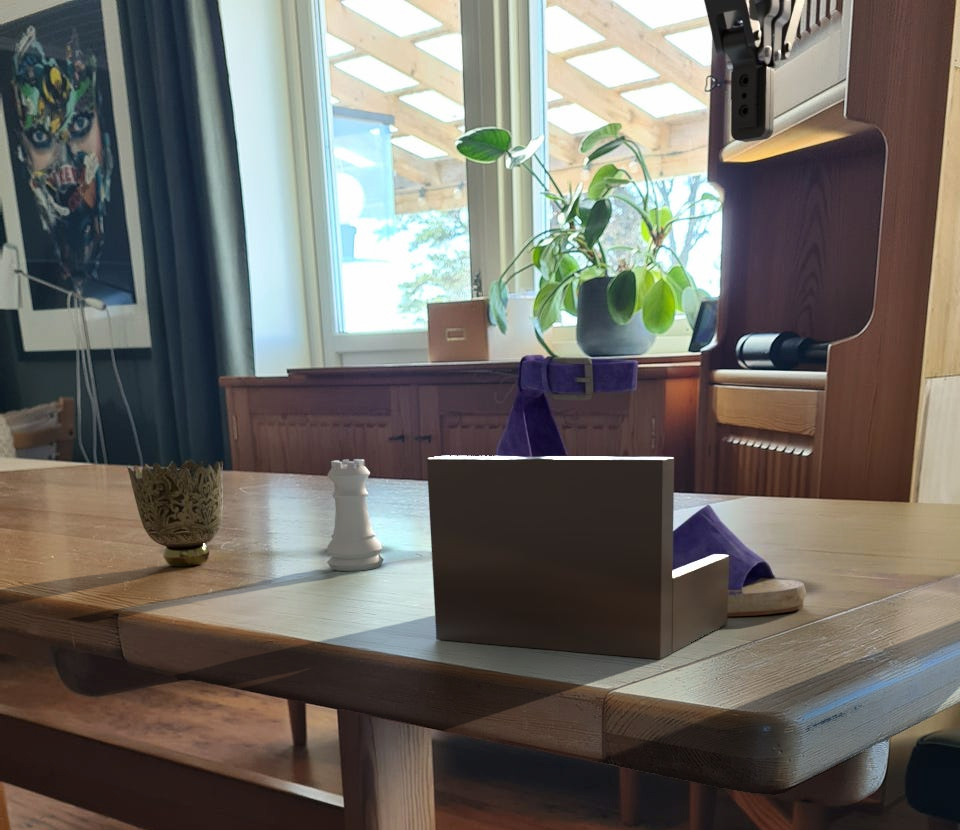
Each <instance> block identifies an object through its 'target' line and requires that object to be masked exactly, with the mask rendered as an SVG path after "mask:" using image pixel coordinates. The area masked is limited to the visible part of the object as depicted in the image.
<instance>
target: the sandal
mask: <svg viewBox="0 0 960 830" xmlns="http://www.w3.org/2000/svg"><path fill="white" fill-rule="evenodd" d="M638 372H639V361H638V360H632V359H631V360H629V359H614V358H613V359H612V358H611V359H609V358H590V357H588V356H587V357H586V356H584V357H583V356H582V357H580V356H577V357H575V356H574V357H570V356H569V357H567V356H566V357H565V356H555V355H548V356H546V357H545V356H544V355H543V354H526V355H524V356H522V357H521V359H520V361H519V366H518V374H517V380H516V393H515V397H514V401H513V404H512V406H511V410H510V413H509V415H508V417H507V418H508V419H507V421H506V424H505V427H504V430H503V433H502V435H501V437H500V440H499V443H498V445H497V449H496V452H495V456H516V457H570V456H569V453H568V450H567V448H566V445H565V442H564V439H563V437H562V434H561V432H560V429H559V427H558V424H557V422H556V420H555V419H556V418H555V417H554V414H553V412H552V409H551V408H552V407H551V405H550V403H549V399H548V397H547V394H550V395H551V396H552V398H553V399H554V400H559V401H560V400H563V401H590V400H591V399H593V398H594V393H596V394H597V393H618V392H619V393H620V392H634V391H637V388H638V387H637V385H638ZM546 393H547V394H546ZM713 554H719V555H729V578H728V612H727V617H750V616H751V617H753V616H762V615H763V616H764V615H765V616H766V615H774V614H783V613H788V612H794V611H797V610H800V609H802V608H803V607H804V603H805V599H806V596H807V591H806V586H805V584H804V582H801V581H798V580H794V579H789V578H780V577H776V576H775V575H774V573H773V570H772V568H771V566H770V565H769V563H768V562H767V561H766V560H765V559H764V558H762V557H761V556H760V555H758V554H757V553H756V552H754V551H753V550H752V549H751V548H749V547H747V546H746V544H745V543H743V542H742V540H740V539H739V538H738V536H736V535H735V533H734V532H733V531H731V529H729V528H728V527H727V525H726V524H725V523H724V522H723V521H722V520H721V519H720V518H719V516H718V514H717V513H716V512H715V511H714V508H713V507H712V506H711V505H710V504H707V505H705V506H703V507H702V508H700V509H699V510H698V511H696V512H695V513H693V514H692V515H691V516H690V517H689V518H687V519H686V520H685V521H684V522H682V523H681V524H680V525H679V526H678V527H677V528H675V529H673V570H675V569H678V568H680V567H683V566H685V565H688V564H690V563H693V562H695V561H698V560H701V559H703V558H706V557H708V556H711V555H713Z"/></svg>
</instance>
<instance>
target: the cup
mask: <svg viewBox="0 0 960 830" xmlns="http://www.w3.org/2000/svg"><path fill="white" fill-rule="evenodd" d="M126 467H127V472H128V474H129V480H130V483H131V489H132V491H133V496H134V500H135V504H136V507H137V512H138V515H139V519H140V521H141V524H142V526H143V528H144V529H143V530H145V533H146V534H147V536H148V537H149V538H150V539H151V540H152V541H154V542H155V543H156V544H158V545H161V546H164V550H163V553H162V557H163V559H164V560H165V562H166V563H167V565H168V566H172V567H193V566H199V565H203V564H204V563H206V562H207V561H208V559H209V555H210V550H209V549H208V547H207V545H206V544H207V543H209V542H210V541H212V540H213V539H214V538H215V537H216V535H217V534H218V533H219V531H220V529H221V525H222V519H223V505H224V503H223V502H224V501H223V498H224V497H223V495H224V494H223V493H224V492H223V491H224V489H223V487H224V485H223V484H224V483H223V478H224V477H223V467H224V463H223V461H222V460H221V461H220V462H219V461H218V460H217V461H216V462H215V463H214V465H213V467H212V465H211V464H208V465H207V467H206V464H205V462H204V461H203V460H201V461H200V462H199V463H198V465H197V464H196V462H195V461H194V460H192V458H191V459H188V460H185V462H184V463H182V464H181V465H180V466H179V467H177V465H176V463H175V462H174V461H172V460H171V461H170V463H169V465H168V466H167V467H162V466H161V465H160V464H159V463H158V462H154V463H153V464H152V468H151V467H150V466H149V465H148V464H147V463H144V464H143V465H142V469H141V470H140V468H139V466H138V465H134V466H133V469H132V468H131V467H130V466H129V465H127V466H126Z"/></svg>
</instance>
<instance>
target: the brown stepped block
mask: <svg viewBox="0 0 960 830" xmlns="http://www.w3.org/2000/svg"><path fill="white" fill-rule="evenodd" d="M426 471H427V490H428V491H427V493H428V508H429V525H430V526H429V527H430V528H429V529H430V530H429V531H430V546H431V564H432V565H431V566H432V581H433V583H432V584H433V602H434V622H435V639H436V640H439V641H449V642H450V641H451V642H453V641H454V642H462V643H474V644H485V645H495V646H505V647H517V648H527V649H528V648H529V649H539V650H549V651H550V650H552V651H562V652H573V653H574V652H575V653H583V654H585V653H586V654H595V655H605V656H606V655H608V656H616V657H617V656H618V657H630V658H639V659H640V658H642V659H650V660H651V659H652V660H661V659H664V658H666V657H668V656H669V655H671V654H673V653H675V652H677V651H678V650H680V649H682V648H684V647H686V646H688V645H690V644H692V643H694V642H696V641H698V640H700V639H701V638H700V637H702V638H703V636H704V635H706V634H708V633H709V634H711V633H713V632H715V631H718V630H719V629H721V628H723V627H725V626H727V625H728V616H727V612H728V578H729V555H719V554H713V555H711V556H708V557H706V558H703V559H701V560H698V561H695V562H693V563H690V564H688V565H685V566H683V567H680V568H678V569H675V570H673V531H674V508H675V507H674V504H675V503H674V501H675V499H674V496H675V457H674V456H569V457H516V456H496V455H494V456H493V455H492V456H489V455H487V456H485V455H482V456H481V455H479V456H475V455H474V456H473V455H472V456H471V455H468V456H467V455H458V456H457V455H451V456H450V455H441V456H434V457H427V458H426ZM726 624H727V625H726ZM724 625H725V626H724ZM722 626H723V627H722ZM720 627H721V628H720ZM714 630H715V631H714ZM712 631H713V632H712ZM710 632H711V633H710ZM709 634H708V635H709ZM706 636H707V635H706ZM704 637H705V636H704ZM699 638H700V639H699ZM697 639H698V640H697ZM695 640H696V641H695ZM693 641H694V642H693ZM691 642H692V643H691Z"/></svg>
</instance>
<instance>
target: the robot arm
mask: <svg viewBox="0 0 960 830" xmlns="http://www.w3.org/2000/svg"><path fill="white" fill-rule="evenodd" d="M703 1H704V7H705V10H706V15H707V20H708V22H709V27H710V32H711V37H712V40H713V45H714V49H715V52H716V54H717V55H721V54H725V65H726V69H727V70H728V71H731V78H730V79H731V84H730V85H731V88H730V90H731V92H730V93H731V95H730V105H731V106H730V135H731V137H732V139H733V140H735V141H738V142H744V143H750V142H756V141H763V140H768V139H770V138H771V136H772V135H773V134H774V123H775V120H774V119H775V116H774V115H775V69H776V68H779V67H780V65H781V61H785V60H786V61H787V60H789V59H790V58H791V57H790V56H791V53H792V49H793V45H794V43H795V38H796V35H797V31H798V27H799V24H800V20H801V16H802V12H803V9H804V5H805V2H806V0H703Z"/></svg>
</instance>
